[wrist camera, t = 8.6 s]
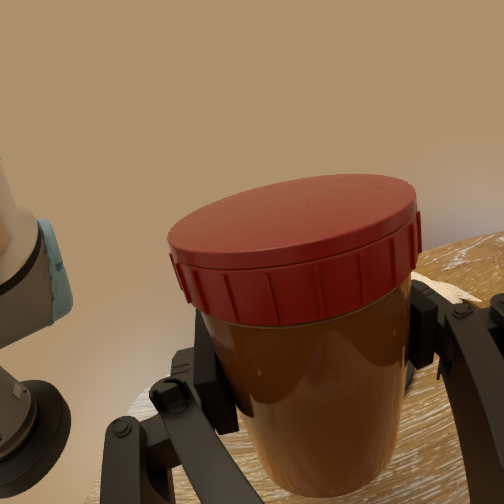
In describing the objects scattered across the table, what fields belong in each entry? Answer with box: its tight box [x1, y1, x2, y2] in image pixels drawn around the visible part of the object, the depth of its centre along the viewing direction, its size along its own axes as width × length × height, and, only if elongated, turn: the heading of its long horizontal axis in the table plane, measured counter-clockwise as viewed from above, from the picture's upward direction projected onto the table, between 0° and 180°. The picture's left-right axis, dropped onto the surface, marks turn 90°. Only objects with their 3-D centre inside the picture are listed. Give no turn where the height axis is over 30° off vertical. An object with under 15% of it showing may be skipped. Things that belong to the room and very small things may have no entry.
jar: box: [201, 273, 411, 498], centre depth 12 cm, size 7×7×12 cm
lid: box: [167, 174, 422, 325], centre depth 10 cm, size 8×8×2 cm
